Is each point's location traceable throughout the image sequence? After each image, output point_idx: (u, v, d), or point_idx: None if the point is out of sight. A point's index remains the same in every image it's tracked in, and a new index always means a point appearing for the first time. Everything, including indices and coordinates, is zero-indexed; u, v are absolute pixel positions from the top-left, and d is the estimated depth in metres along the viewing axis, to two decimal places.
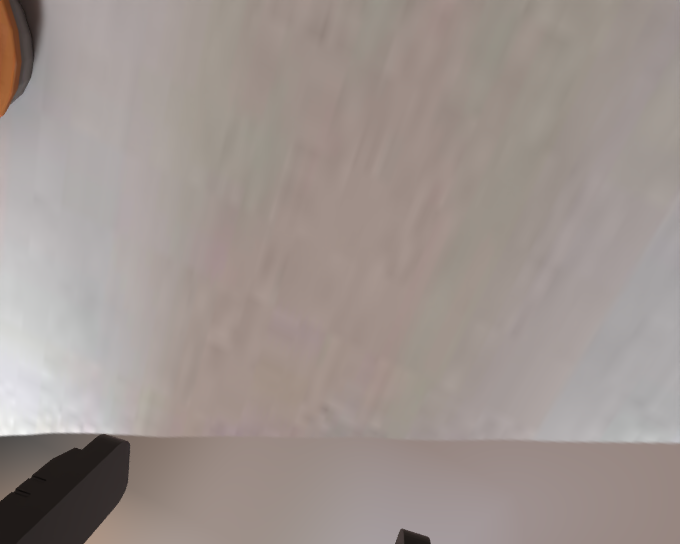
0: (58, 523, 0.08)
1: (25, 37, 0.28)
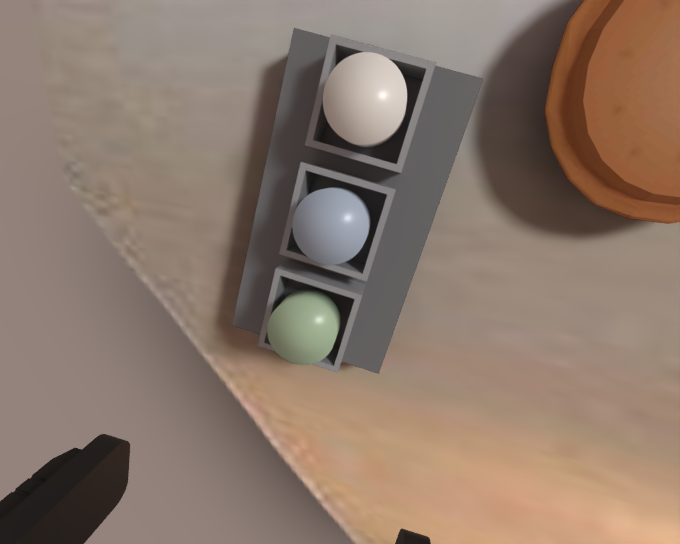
0: (58, 523, 0.08)
1: None
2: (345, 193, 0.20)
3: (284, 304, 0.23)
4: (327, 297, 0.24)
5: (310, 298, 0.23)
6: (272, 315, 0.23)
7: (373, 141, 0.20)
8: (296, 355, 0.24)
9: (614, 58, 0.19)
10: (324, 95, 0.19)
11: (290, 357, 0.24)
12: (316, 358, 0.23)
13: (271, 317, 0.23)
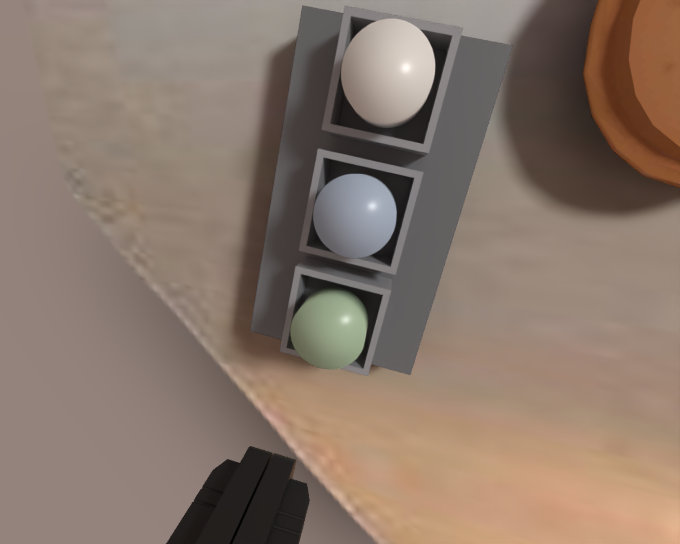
0: None
1: None
2: (370, 178, 0.19)
3: (308, 304, 0.21)
4: (353, 294, 0.23)
5: (335, 296, 0.21)
6: (295, 317, 0.21)
7: (399, 118, 0.18)
8: (323, 359, 0.22)
9: (663, 9, 0.17)
10: (342, 70, 0.17)
11: (316, 362, 0.22)
12: (345, 361, 0.21)
13: (294, 319, 0.21)
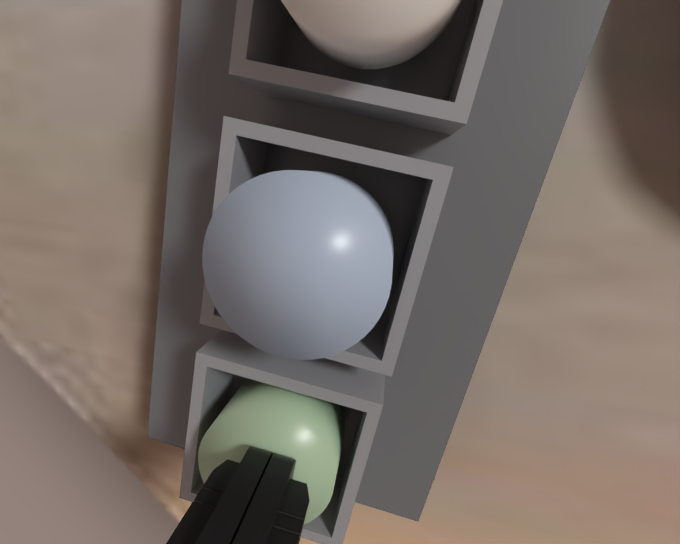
0: None
1: None
2: (328, 180, 0.08)
3: (226, 418, 0.11)
4: None
5: (280, 400, 0.11)
6: (205, 439, 0.11)
7: (399, 22, 0.07)
8: None
9: None
10: None
11: None
12: None
13: (204, 442, 0.11)
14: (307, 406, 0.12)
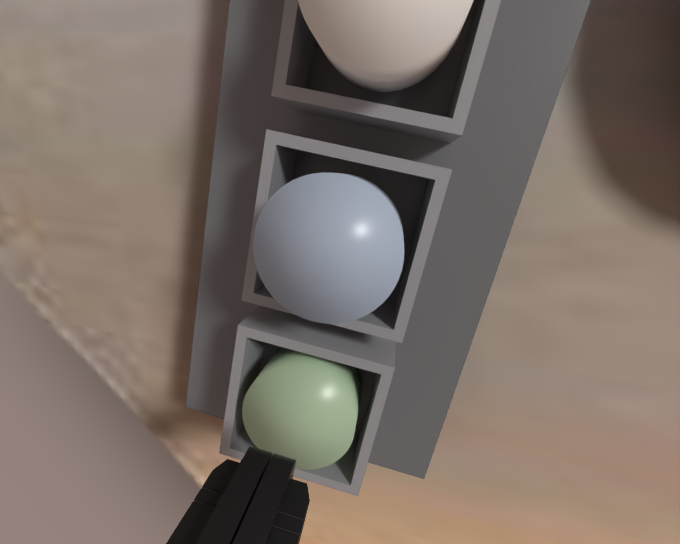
0: None
1: None
2: (355, 180, 0.10)
3: (267, 375, 0.14)
4: None
5: (310, 361, 0.14)
6: (249, 393, 0.14)
7: (410, 62, 0.09)
8: (293, 455, 0.14)
9: None
10: None
11: None
12: (326, 458, 0.14)
13: (247, 396, 0.14)
14: (332, 367, 0.14)
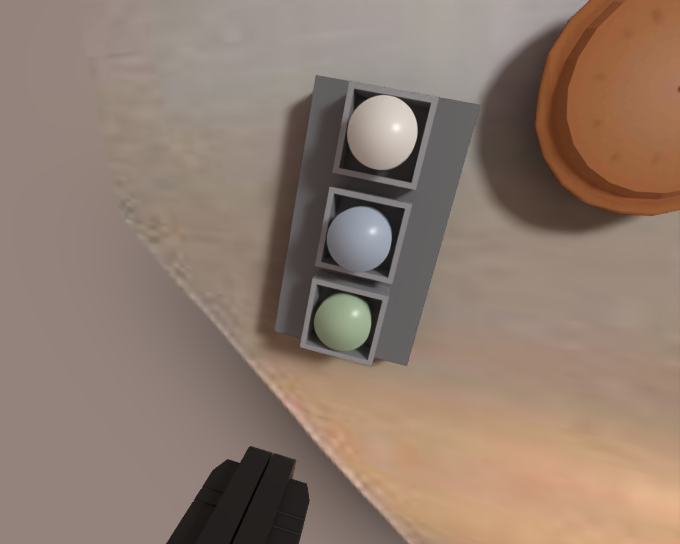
0: None
1: None
2: (370, 211, 0.24)
3: (327, 302, 0.28)
4: None
5: (347, 295, 0.28)
6: (317, 311, 0.28)
7: (391, 166, 0.23)
8: (339, 343, 0.29)
9: (590, 81, 0.23)
10: (348, 132, 0.23)
11: (333, 345, 0.29)
12: (355, 344, 0.28)
13: (317, 313, 0.28)
14: (358, 299, 0.28)
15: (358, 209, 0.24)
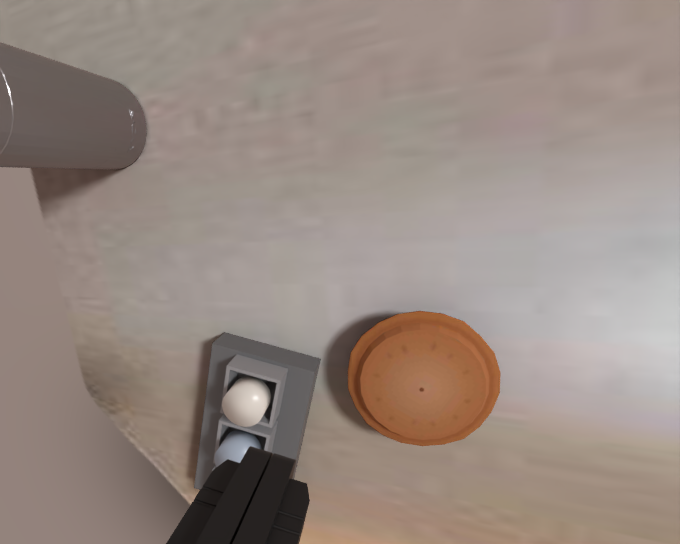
0: None
1: None
2: (239, 447, 0.38)
3: None
4: None
5: None
6: None
7: (249, 425, 0.38)
8: None
9: (371, 376, 0.37)
10: (222, 405, 0.37)
11: None
12: None
13: None
14: None
15: (232, 445, 0.39)
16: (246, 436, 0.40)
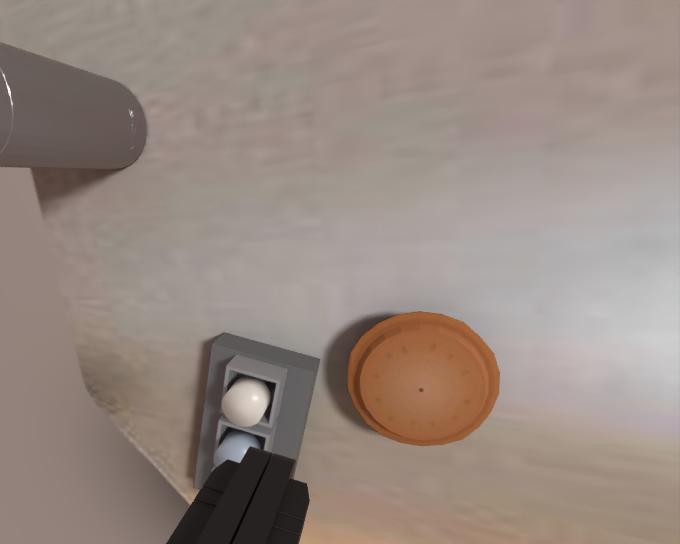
0: None
1: None
2: (239, 447, 0.39)
3: None
4: None
5: None
6: None
7: (249, 425, 0.38)
8: None
9: (371, 377, 0.37)
10: (222, 405, 0.37)
11: None
12: None
13: None
14: None
15: (231, 445, 0.39)
16: (246, 436, 0.40)
